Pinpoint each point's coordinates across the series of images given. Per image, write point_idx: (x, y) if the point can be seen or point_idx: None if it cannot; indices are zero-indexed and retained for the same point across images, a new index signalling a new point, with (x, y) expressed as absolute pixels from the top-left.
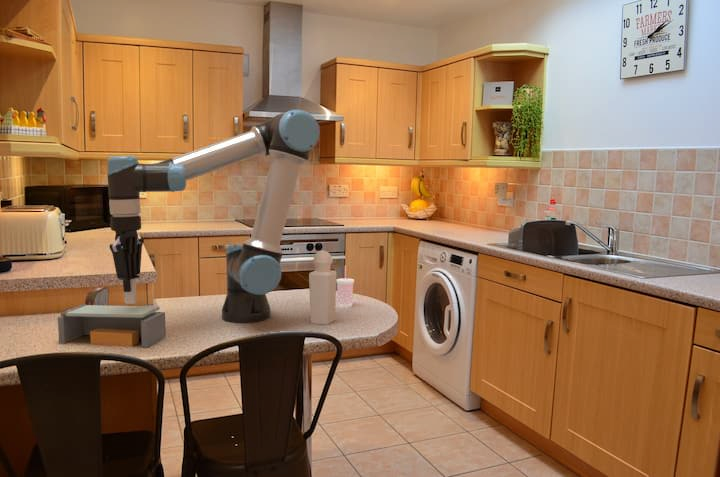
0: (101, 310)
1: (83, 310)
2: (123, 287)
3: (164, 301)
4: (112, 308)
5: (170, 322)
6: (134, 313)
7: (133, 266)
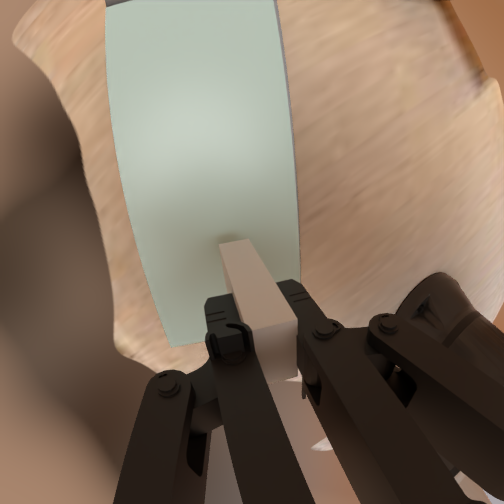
0: (180, 119)
1: (164, 34)
2: (206, 318)
3: (493, 99)
4: (231, 144)
5: (394, 195)
6: (174, 313)
7: (334, 449)
